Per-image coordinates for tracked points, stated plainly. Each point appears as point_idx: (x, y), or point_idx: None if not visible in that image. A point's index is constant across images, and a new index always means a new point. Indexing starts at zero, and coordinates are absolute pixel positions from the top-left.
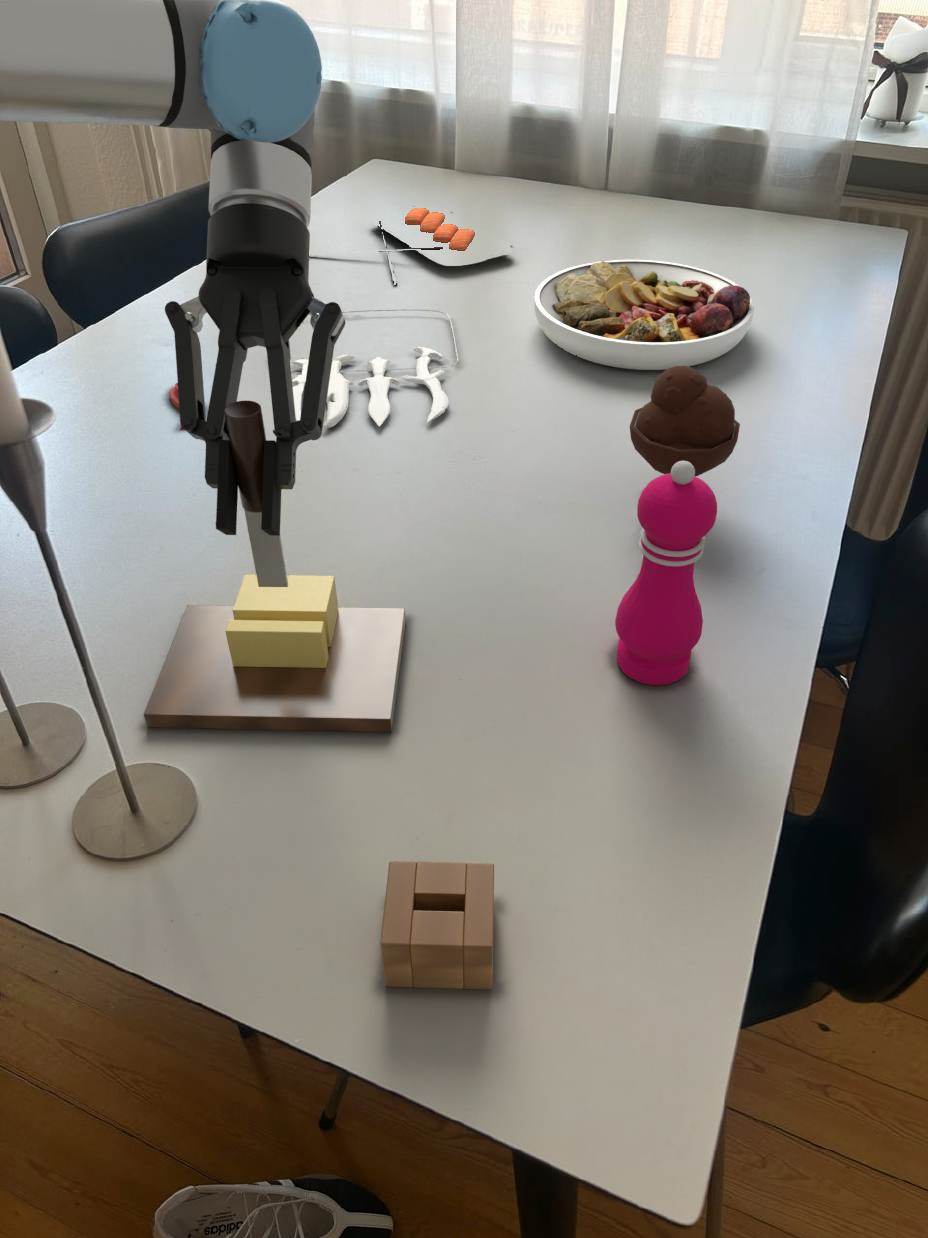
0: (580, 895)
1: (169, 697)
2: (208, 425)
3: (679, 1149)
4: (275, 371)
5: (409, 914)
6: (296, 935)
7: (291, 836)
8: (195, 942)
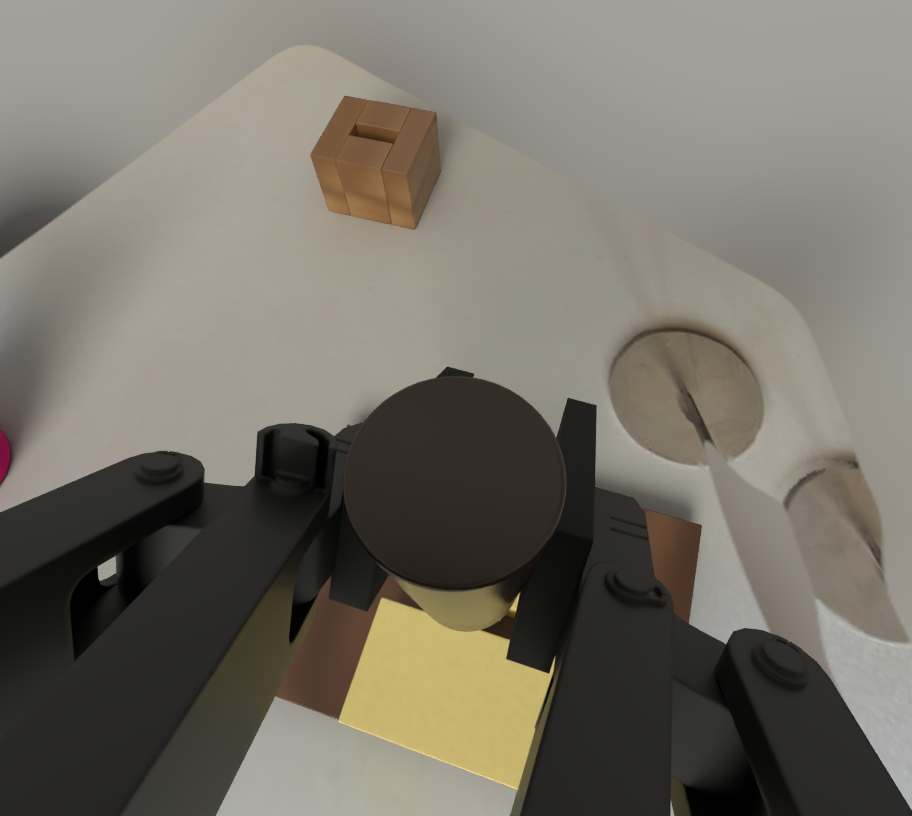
0: (249, 206)
1: (665, 553)
2: (656, 616)
3: (285, 60)
4: (78, 771)
5: (403, 127)
6: (508, 222)
7: (501, 318)
8: (601, 234)
